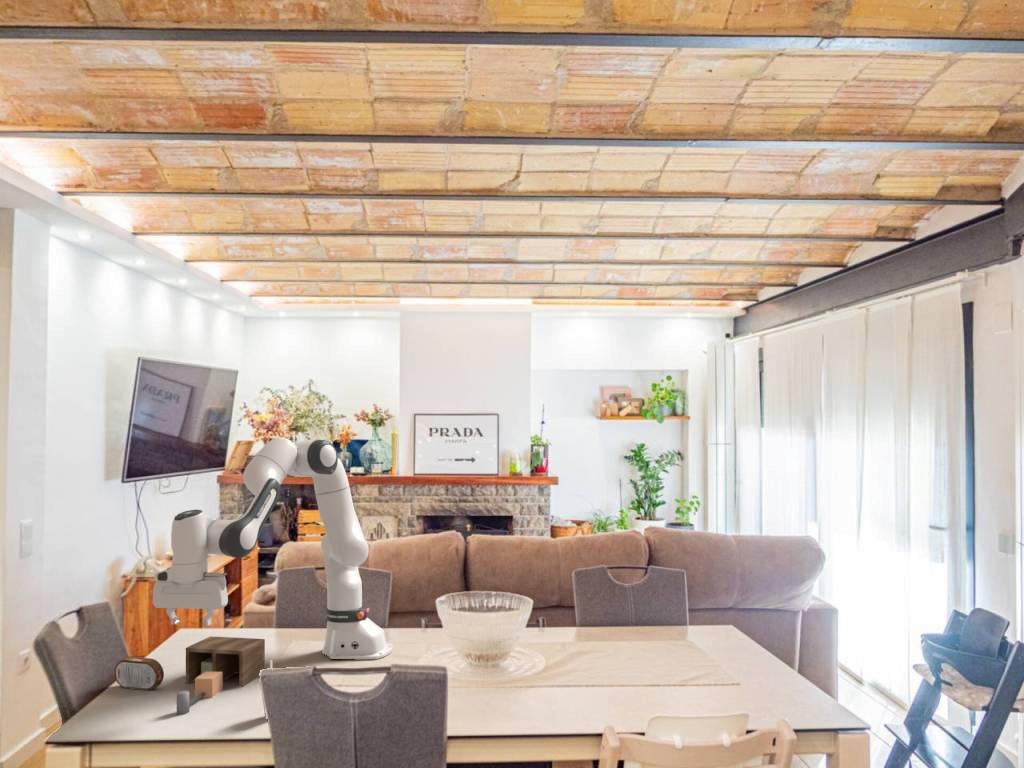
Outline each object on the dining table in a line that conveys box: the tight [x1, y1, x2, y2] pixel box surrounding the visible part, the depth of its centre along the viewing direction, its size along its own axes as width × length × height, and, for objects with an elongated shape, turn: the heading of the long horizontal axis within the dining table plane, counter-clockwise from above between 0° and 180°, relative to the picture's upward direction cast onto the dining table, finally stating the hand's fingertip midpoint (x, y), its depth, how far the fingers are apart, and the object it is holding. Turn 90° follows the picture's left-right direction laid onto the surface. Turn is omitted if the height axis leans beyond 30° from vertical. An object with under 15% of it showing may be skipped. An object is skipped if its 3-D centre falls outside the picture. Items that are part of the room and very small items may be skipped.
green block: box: [201, 657, 212, 674], centre depth 230 cm, size 5×6×5 cm
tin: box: [114, 656, 165, 691], centre depth 221 cm, size 15×3×8 cm, turn 74°
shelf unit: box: [185, 636, 266, 688], centre depth 229 cm, size 18×12×10 cm, turn 78°
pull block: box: [176, 671, 224, 715], centre depth 210 cm, size 5×18×5 cm, turn 175°
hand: (191, 624), depth 207 cm, fingers open, 8 cm apart
